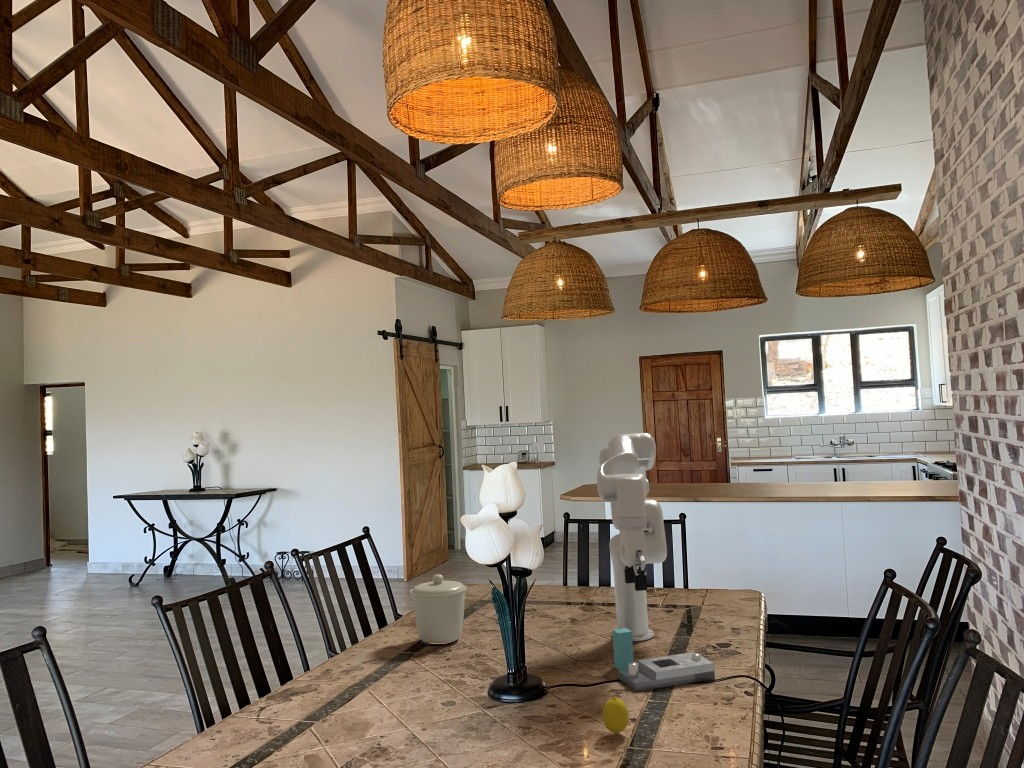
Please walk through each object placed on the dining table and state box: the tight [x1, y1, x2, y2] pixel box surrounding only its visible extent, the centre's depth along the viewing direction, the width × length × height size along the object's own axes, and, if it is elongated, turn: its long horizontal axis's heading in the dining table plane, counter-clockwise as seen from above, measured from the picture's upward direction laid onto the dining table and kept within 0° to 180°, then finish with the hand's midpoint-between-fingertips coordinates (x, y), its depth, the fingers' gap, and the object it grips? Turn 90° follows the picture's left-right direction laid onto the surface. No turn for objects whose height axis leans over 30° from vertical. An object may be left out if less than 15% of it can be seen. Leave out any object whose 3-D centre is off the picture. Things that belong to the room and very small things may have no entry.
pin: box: [611, 628, 635, 671], centre depth 216 cm, size 4×4×10 cm
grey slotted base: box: [617, 651, 716, 692], centre depth 205 cm, size 11×22×5 cm, turn 106°
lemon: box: [602, 696, 630, 736], centre depth 171 cm, size 6×6×8 cm
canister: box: [409, 573, 468, 643], centre depth 253 cm, size 18×18×21 cm
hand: (636, 586), depth 214 cm, fingers open, 9 cm apart
